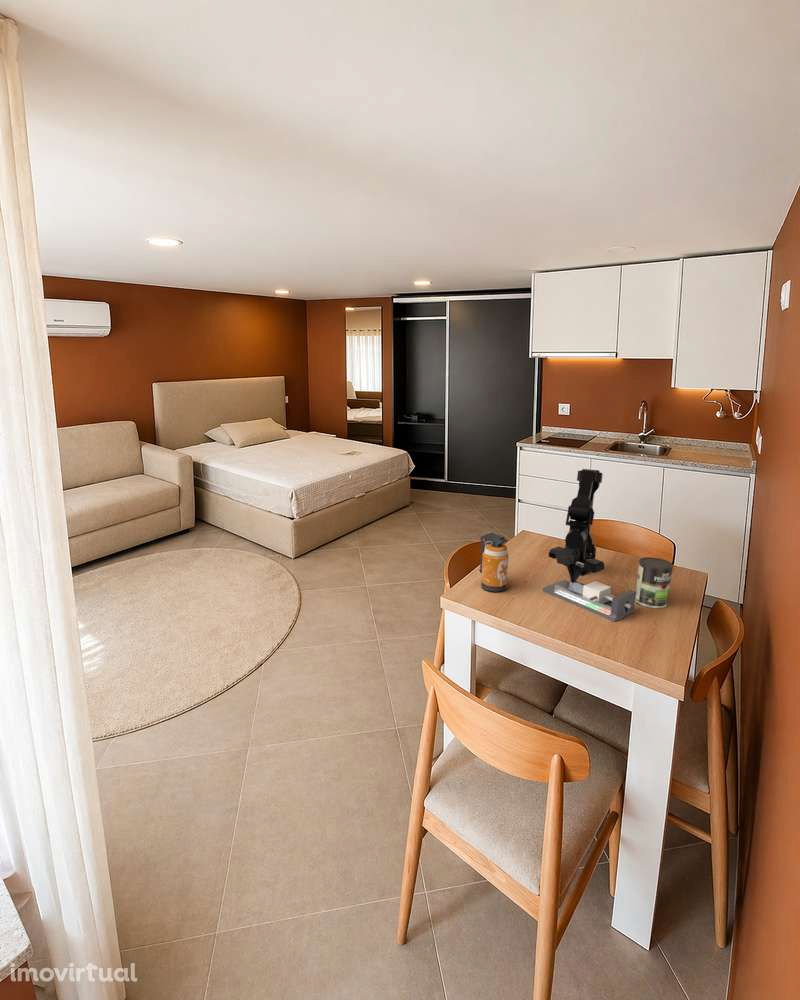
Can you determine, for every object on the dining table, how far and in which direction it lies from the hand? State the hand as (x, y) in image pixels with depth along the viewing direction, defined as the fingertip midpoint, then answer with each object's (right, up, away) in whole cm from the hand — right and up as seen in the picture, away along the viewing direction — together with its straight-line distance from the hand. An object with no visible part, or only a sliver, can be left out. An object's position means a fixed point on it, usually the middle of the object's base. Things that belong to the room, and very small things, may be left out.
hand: (573, 582), depth 188 cm
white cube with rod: (+7, -6, -11) cm, 14 cm away
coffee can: (+25, -6, -4) cm, 26 cm away
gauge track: (+4, -6, -3) cm, 7 cm away
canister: (-27, -3, +7) cm, 28 cm away
